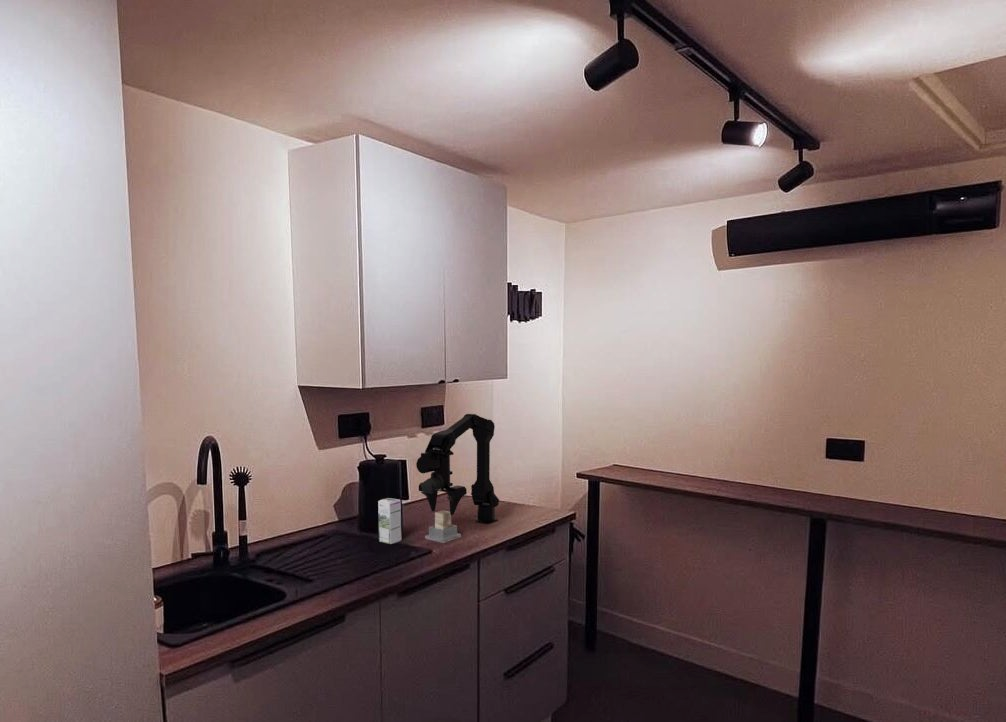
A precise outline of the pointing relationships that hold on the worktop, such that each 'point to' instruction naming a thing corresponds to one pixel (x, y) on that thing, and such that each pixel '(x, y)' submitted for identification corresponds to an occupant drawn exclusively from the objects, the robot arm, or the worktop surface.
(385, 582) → the worktop surface
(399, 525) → the syrup box
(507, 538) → the worktop surface
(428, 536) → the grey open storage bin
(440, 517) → the beige rectangular block
